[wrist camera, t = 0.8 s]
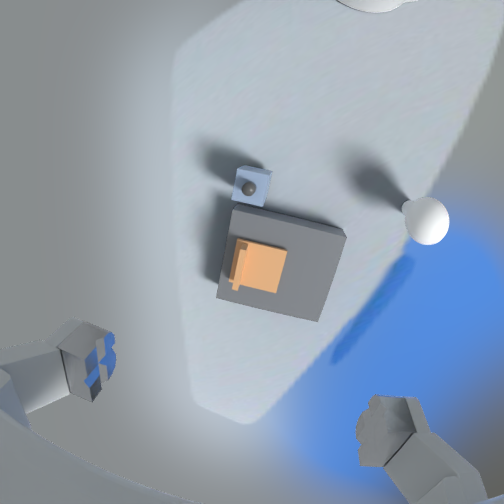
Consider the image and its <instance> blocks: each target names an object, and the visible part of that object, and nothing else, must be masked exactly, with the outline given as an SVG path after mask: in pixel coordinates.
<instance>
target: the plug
mask: <svg viewBox="0 0 504 504" xmlns="http://www.w3.org/2000/svg"><path fill="white" fill-rule="evenodd" d="M271 175H272V171H270V170H265V169H261V168H256V167H252V166H247V165H243V166H241V167H239V168H237V173H236V178H235V183H234V188H233V193H232V198H231V200H235V201H239V202H244V203H248V204H253V205H257V206H261V207H263V205H264V202H265V200H266V197H267V193H268V188H269V184H270V179H271Z"/></svg>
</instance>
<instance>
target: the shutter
mask: <svg viewBox="0 0 504 504" xmlns="http://www.w3.org/2000/svg"><path fill="white" fill-rule="evenodd" d="M286 255H287V250H286V249H281V248H277V247H273V246H269V245H265V244H261V243H257V242H252V241H248V240H244V239H240V238H238V239H237V242H236V247H235V252H234V257H233V262H232V267H231V272H230V277H229V282H232V283H233V286H232V289H233V290H237V291H238V288H239V285H244V286H248V287H252V288H256V289H260V290H264V291H268V292H273V293H276V291H277V288H278V284H279V281H280V277H281V273H282V270H283V266H284V262H285V258H286Z"/></svg>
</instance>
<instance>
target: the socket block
mask: <svg viewBox="0 0 504 504" xmlns="http://www.w3.org/2000/svg"><path fill="white" fill-rule="evenodd" d="M238 238H240V239H244V240H248V241H252V242H257V243H261V244H265V245H269V246H273V247H277V248H281V249H286V250H287V255H286V258H285V262H284V266H283V270H282V273H281V277H280V281H279V284H278V288H277V291H276V293H273V292H268V291H264V290H260V289H256V288H252V287H248V286H244V285H239V288H238V291H237V290H233V289H232V286H233V283H232V282H229V277H230V272H231V267H232V262H233V257H234V252H235V247H236V242H237V239H238ZM346 238H347V237H346V235H345V233H344V231H343V229H340V228H336V227H332V226H328V225H324V224H320V223H316V222H312V221H308V220H304V219H300V218H296V217H292V216H288V215H284V214H280V213H276V212H272V211H267V210H263V209H259V208H255V207H250V206H246V205H242V204H237V205H236V206H235V207H234V209H233V210H232V215H231V221H230V226H229V231H228V236H227V242H226V247H225V252H224V258H223V263H222V268H221V274H220V279H219V285H218V290H217V296H216V298H219V299H223V300H227V301H230V302H234V303H238V304H242V305H246V306H251V307H255V308H259V309H263V310H267V311H271V312H276V313H280V314H284V315H289V316H293V317H297V318H302V319H306V320H311V321H316V322H318V320H319V317H320V315H321V312H322V309H323V306H324V304H325V301H326V298H327V295H328V292H329V290H330V287H331V284H332V281H333V278H334V275H335V272H336V269H337V266H338V263H339V260H340V257H341V254H342V251H343V247H344V244H345V241H346Z"/></svg>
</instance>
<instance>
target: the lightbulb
mask: <svg viewBox="0 0 504 504" xmlns="http://www.w3.org/2000/svg"><path fill="white" fill-rule="evenodd" d="M402 212H403V214H404V215H405V225H406V229H407V231H408V233H409V235H410V236H411V237H412V238H413V239H414V240H415V241H417V242H418V243H421V244H424V245H430V244H435V243H437V242H439V241H440V240H441V239H442V238H443V237H444V236H445V234H446V233H447V231H448V227H449V216H448V213H447V210H446V208H445V207H444V206H443V205H442V203H441V202H439V201H438V200H436V199H434V198H431V197H422V198H419V199H417V200H415V201H411V200H408V201H406V202H404V204H403V205H402Z"/></svg>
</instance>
